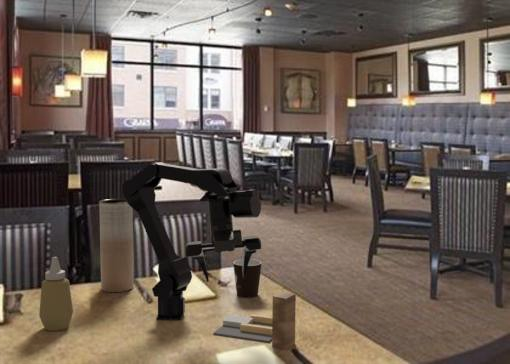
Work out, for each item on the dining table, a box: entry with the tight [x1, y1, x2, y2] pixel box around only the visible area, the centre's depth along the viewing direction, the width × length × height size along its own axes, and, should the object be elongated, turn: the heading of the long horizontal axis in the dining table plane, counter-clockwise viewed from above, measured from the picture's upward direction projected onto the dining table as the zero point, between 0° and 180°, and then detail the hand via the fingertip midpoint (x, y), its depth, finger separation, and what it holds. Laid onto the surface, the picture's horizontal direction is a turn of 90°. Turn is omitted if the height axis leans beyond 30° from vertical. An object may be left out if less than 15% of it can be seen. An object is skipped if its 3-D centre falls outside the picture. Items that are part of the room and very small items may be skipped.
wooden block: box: [271, 291, 297, 351], centre depth 129 cm, size 4×4×12 cm
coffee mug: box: [232, 258, 262, 299], centre depth 170 cm, size 12×9×10 cm
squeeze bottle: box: [38, 256, 74, 332], centre depth 139 cm, size 8×8×18 cm
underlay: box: [212, 313, 272, 343], centre depth 139 cm, size 14×12×2 cm
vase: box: [98, 198, 134, 293], centre depth 174 cm, size 10×10×28 cm
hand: (226, 279), depth 141 cm, fingers open, 9 cm apart
